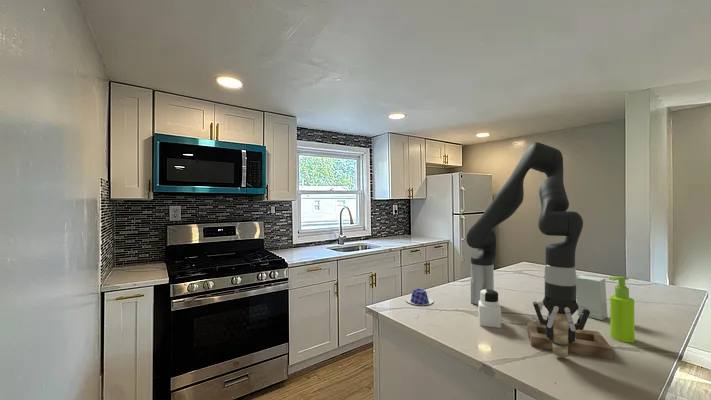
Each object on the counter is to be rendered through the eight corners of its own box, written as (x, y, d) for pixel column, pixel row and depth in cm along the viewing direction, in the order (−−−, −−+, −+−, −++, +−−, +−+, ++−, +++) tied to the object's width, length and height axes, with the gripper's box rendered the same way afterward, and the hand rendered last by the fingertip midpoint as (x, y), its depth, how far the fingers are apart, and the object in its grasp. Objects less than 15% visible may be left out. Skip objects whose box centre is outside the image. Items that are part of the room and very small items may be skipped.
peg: (552, 356, 86) (552, 313, 86) (549, 349, 90) (549, 308, 90) (571, 359, 85) (571, 315, 85) (567, 352, 89) (567, 310, 89)
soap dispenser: (602, 335, 102) (602, 274, 102) (622, 334, 102) (621, 274, 102) (619, 343, 96) (618, 279, 96) (639, 342, 97) (639, 278, 97)
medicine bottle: (499, 320, 115) (498, 288, 115) (501, 328, 108) (501, 294, 108) (478, 318, 117) (478, 287, 117) (479, 325, 110) (479, 292, 110)
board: (531, 346, 95) (531, 335, 95) (527, 330, 106) (527, 321, 106) (612, 359, 87) (612, 347, 87) (599, 341, 98) (598, 331, 98)
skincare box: (607, 317, 117) (607, 278, 117) (601, 321, 114) (601, 280, 114) (582, 310, 124) (581, 274, 124) (575, 314, 121) (575, 276, 121)
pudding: (439, 303, 135) (438, 292, 135) (417, 308, 129) (417, 296, 129) (421, 296, 146) (421, 285, 146) (400, 300, 140) (400, 288, 140)
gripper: (532, 281, 87) (533, 342, 87) (594, 287, 81) (594, 352, 81) (530, 275, 94) (530, 331, 94) (586, 280, 88) (587, 340, 88)
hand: (560, 340), depth 87 cm, fingers closed on peg, 4 cm apart
